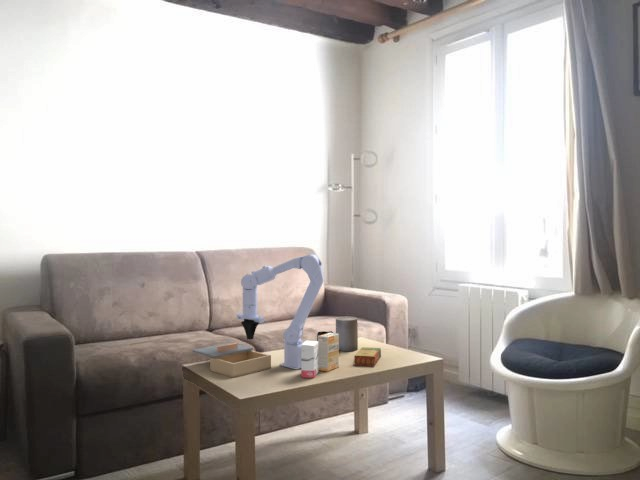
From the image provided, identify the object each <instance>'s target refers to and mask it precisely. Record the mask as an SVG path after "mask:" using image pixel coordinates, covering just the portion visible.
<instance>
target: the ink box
mask: <svg viewBox="0 0 640 480" xmlns="http://www.w3.org/2000/svg"><path fill="white" fill-rule="evenodd" d="M300 369H301V370H300V371H301V372H300V373H301V378H305V379H306V378H307V379H309V378H310V379H315V377H316V376H317V374H318V373H319V370H318V341H317V340H308V339H307V340H305V341H303V344H302V345H301V368H300Z"/></svg>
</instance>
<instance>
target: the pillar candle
mask: <svg viewBox="0 0 640 480" xmlns="http://www.w3.org/2000/svg"><path fill="white" fill-rule="evenodd" d="M358 328H359V327H358V317H356V316H348V315H346V316H345V315H344V316H337V317H335V333H336V334H339V351H342V352H354V351H356V350H359V349H358V348H359V342H358V340H359V337H358V335H359V333H358Z"/></svg>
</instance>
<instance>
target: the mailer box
mask: <svg viewBox="0 0 640 480" xmlns="http://www.w3.org/2000/svg"><path fill="white" fill-rule="evenodd" d="M269 369H272V355H270V354H266V353H263V352H260V351H255V350H250V351H246V352H241V353H236V354H231V355H227V356H222V357H217V358H212V357H210V358H209V371H210V372H213V373H217V374H220V375H222V376H225V377H228V378H233V379H234V378H237V377H242V376H245V375H251V374H253V373H257V372H262V371H267V370H269Z"/></svg>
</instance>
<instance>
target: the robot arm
mask: <svg viewBox="0 0 640 480" xmlns="http://www.w3.org/2000/svg"><path fill="white" fill-rule="evenodd" d="M292 269H297V270H301V269H302V270H303V271H304V272H305V273H306V275H307V276H308V279H309V281H310V282H309V283H308V286H307V287H306V290H305V293H304V295H303V297H302V299H301V302H300V304H299V306H298V308H297V310H296V313H295V315H294V316H293V318H292V321H291V322H290V325H289V326H288V327H287V328H286V329H285V330H284V331H283V333H282V334H283V335H282V337H283V339H284V341H283V343H284V344H283V346H284V347H283V348H284V349H283V353H284V355H283V361H284V362H282V363H279V366H281V367H285V368H289V369H292V370H293V369H294V370H299V369H301V345H302V344H303V343H304V341H303V339H302V338H301V337H302V336H303V335H304V327H305V324H306V320H307V319H308V316H309V314H310V312H311V311H312V307H313V305H314V304H315V301H316V299H317V296H318V295H319V292H320V289H321V288H322V285H323V283H324V281H325V278H324V272H323V263H322V261H321V259H320V257H319V256H318V255H317V254H315V253H309V254H307V255H302V256H297V257H294V258H292V259H290V260H288V261H285V262H282V263H281V264H278V265H276V266H274V267H273V266H270V265H264V266H262V267H261V268H259V269H257V270H252V271H251V273H247V274H245V275H244V276H242V278H241V279H240V284H241V287H242V313H241V312H240V313H236V320H243V321H240V323H241V326H242V327H243V330H244V332H245V336H246V339H247V340H254V337H255V333H256V330H257V327H258V325H259V324H263V323H265V317H263V316H260V315H258V286H261V285H263V284H266V283H268V282H272V281H273V280H275V279H276V276H277V275H279V274H282V273H285V272H287V271H290V270H292Z"/></svg>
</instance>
